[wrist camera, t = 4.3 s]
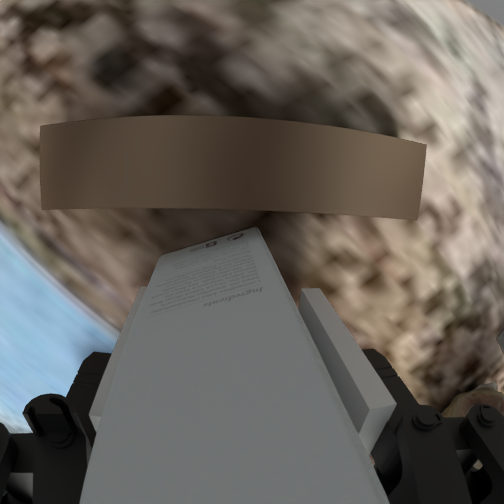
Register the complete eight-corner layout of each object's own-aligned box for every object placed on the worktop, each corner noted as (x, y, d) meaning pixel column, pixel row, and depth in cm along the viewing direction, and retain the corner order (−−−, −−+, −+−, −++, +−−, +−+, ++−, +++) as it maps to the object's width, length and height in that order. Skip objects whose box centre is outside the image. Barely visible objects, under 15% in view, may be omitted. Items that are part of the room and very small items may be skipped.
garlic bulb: (495, 390, 20) (552, 455, 11) (429, 451, 22) (473, 524, 12) (472, 351, 17) (555, 439, 8) (386, 432, 19) (441, 535, 9)
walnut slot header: (106, 411, 15) (98, 436, 13) (64, 127, 10) (40, 125, 8) (342, 408, 17) (353, 431, 15) (399, 142, 12) (426, 144, 10)
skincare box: (155, 254, 12) (47, 586, 1) (257, 223, 12) (434, 561, 1) (205, 367, 15) (219, 620, 3) (290, 343, 15) (384, 588, 3)
